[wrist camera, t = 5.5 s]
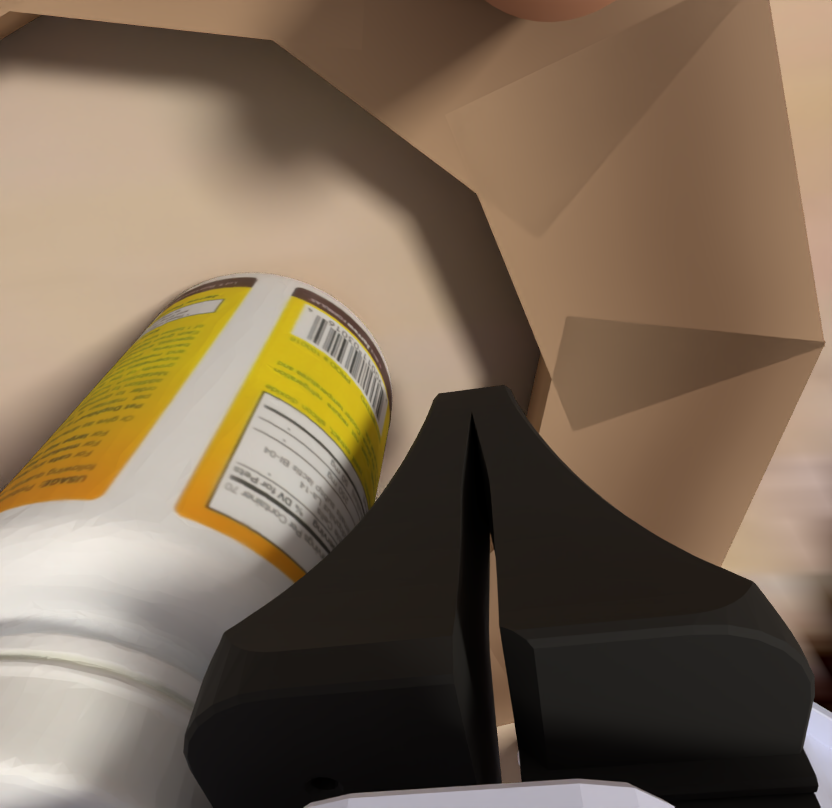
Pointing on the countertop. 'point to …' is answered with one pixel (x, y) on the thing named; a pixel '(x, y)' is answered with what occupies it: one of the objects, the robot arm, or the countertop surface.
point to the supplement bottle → (175, 530)
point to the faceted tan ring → (595, 217)
